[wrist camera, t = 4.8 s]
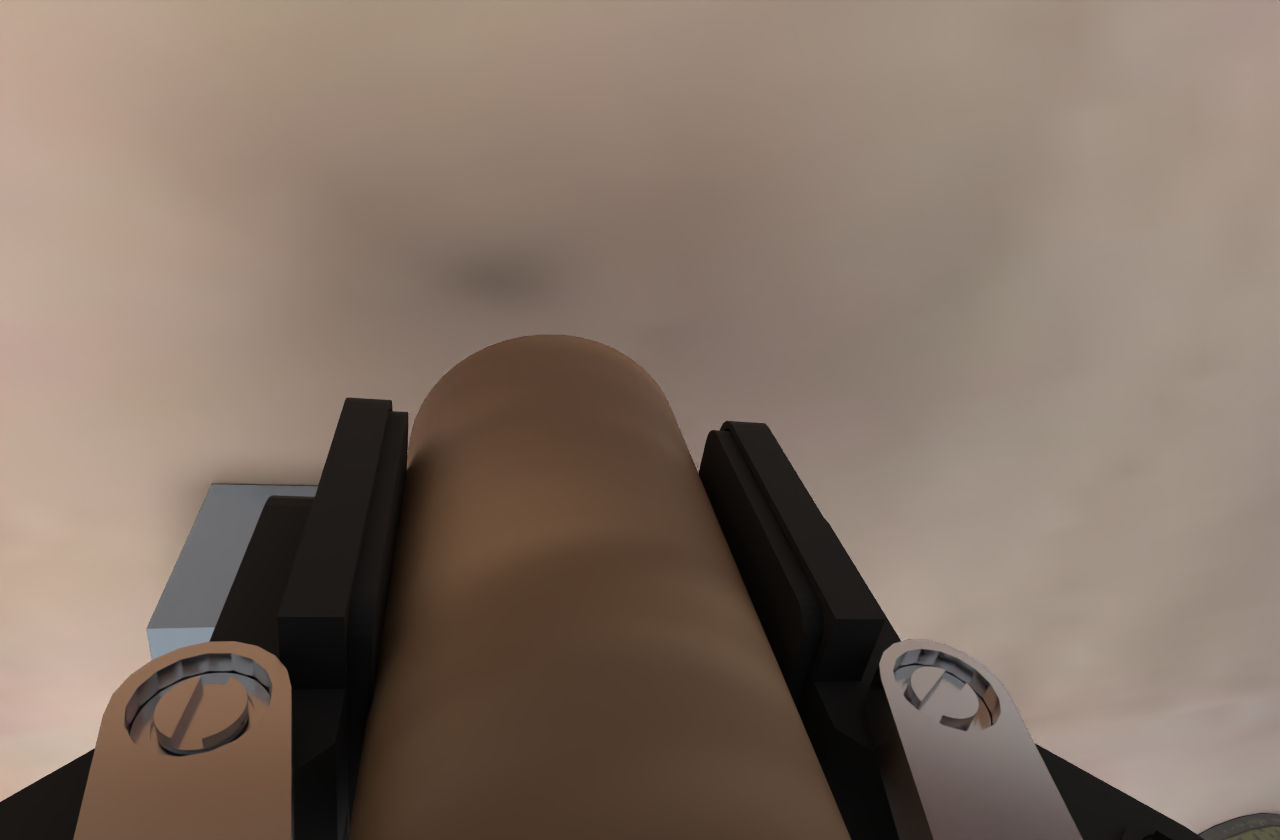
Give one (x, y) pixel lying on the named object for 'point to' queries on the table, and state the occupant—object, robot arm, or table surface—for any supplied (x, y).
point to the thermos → (1246, 828)
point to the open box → (210, 564)
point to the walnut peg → (572, 627)
